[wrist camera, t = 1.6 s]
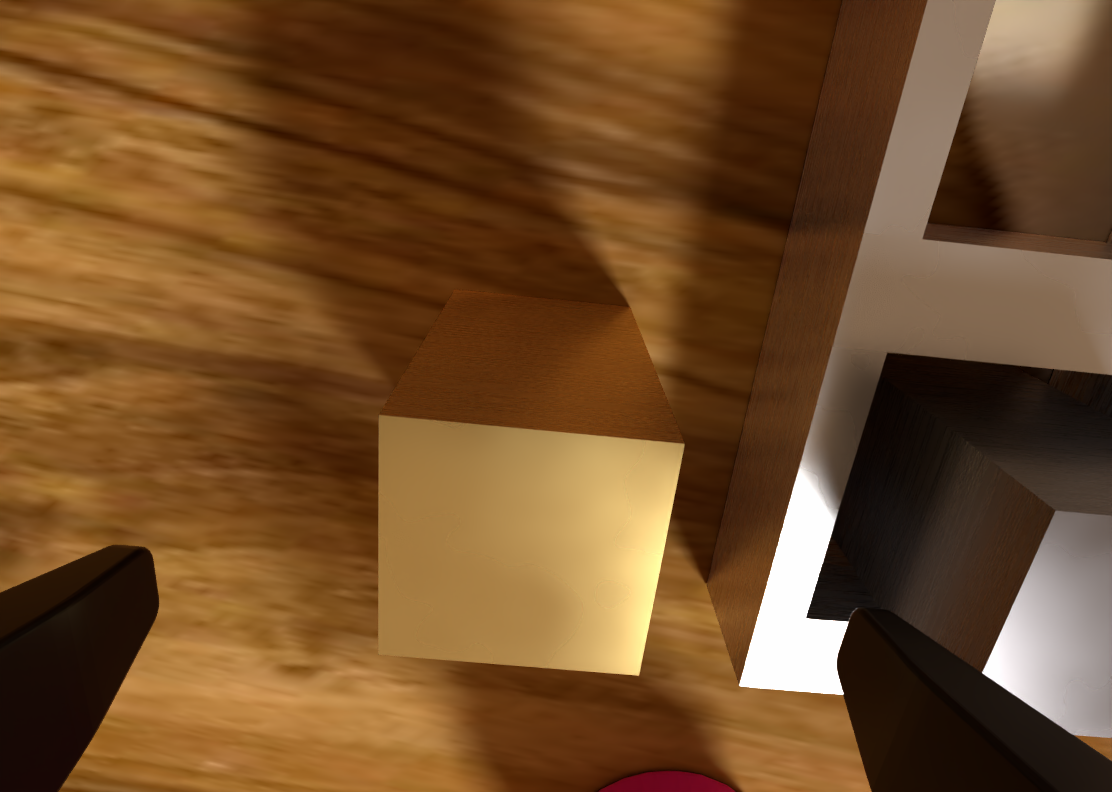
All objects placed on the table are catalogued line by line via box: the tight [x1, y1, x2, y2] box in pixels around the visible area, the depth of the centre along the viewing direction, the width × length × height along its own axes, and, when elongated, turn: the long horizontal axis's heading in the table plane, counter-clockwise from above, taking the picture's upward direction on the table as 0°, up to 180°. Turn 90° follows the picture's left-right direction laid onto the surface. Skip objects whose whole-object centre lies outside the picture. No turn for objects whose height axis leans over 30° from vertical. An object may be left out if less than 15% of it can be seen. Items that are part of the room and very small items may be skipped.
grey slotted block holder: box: [707, 0, 1112, 738], centre depth 12 cm, size 18×8×7 cm, turn 174°
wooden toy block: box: [378, 289, 685, 675], centre depth 13 cm, size 4×4×7 cm
